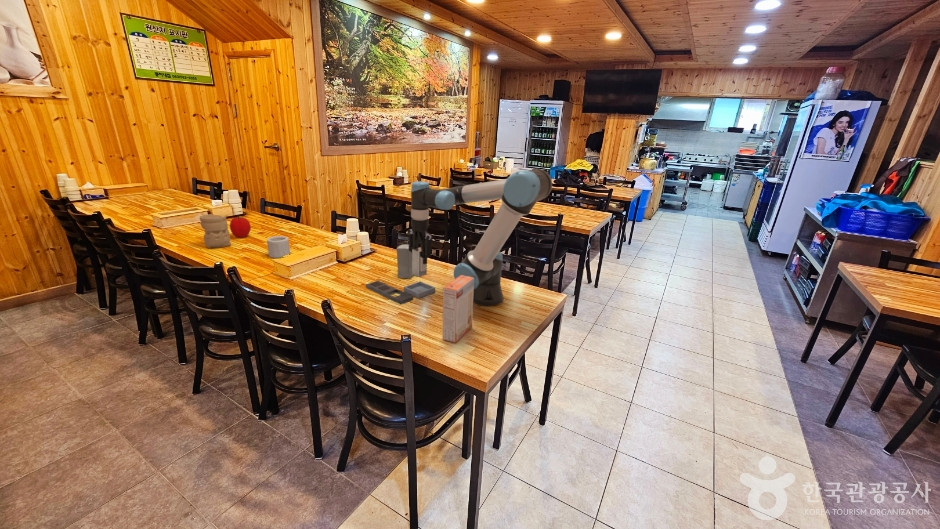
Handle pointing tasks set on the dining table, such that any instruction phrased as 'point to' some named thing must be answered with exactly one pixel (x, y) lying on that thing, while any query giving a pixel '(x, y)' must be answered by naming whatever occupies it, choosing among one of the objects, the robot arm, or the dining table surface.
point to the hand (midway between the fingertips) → (419, 268)
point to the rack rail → (389, 292)
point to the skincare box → (404, 261)
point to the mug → (278, 246)
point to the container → (215, 230)
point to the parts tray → (419, 289)
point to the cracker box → (457, 308)
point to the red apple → (240, 227)
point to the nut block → (417, 263)
